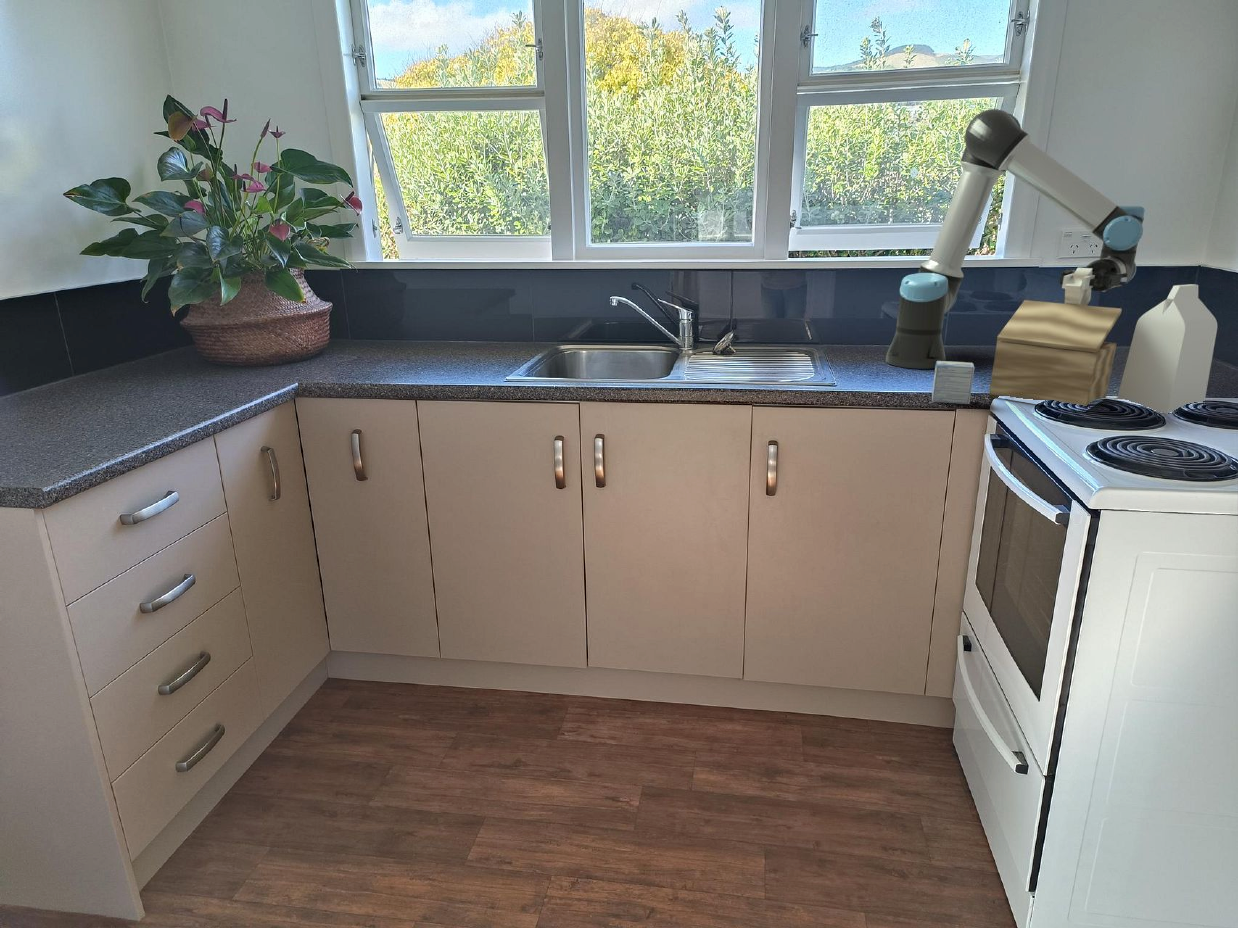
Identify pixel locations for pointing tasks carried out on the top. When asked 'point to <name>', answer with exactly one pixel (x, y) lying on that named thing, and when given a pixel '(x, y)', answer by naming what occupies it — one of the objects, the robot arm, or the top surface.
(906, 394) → the top surface
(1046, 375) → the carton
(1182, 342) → the milk
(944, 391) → the grey wooden block
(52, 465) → the top surface
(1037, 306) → the lid
